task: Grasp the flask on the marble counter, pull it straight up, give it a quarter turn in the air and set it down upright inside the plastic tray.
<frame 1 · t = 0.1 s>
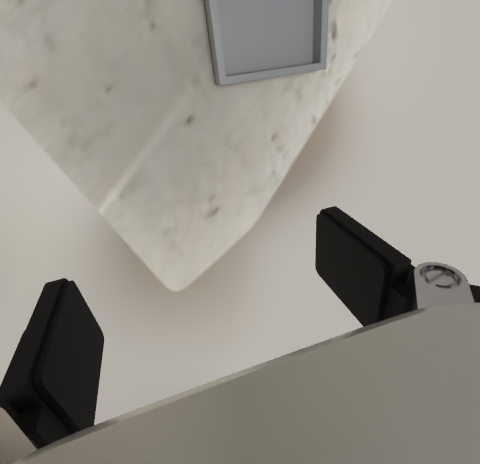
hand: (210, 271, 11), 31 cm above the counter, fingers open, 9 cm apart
tray: (263, 9, 34), on the counter
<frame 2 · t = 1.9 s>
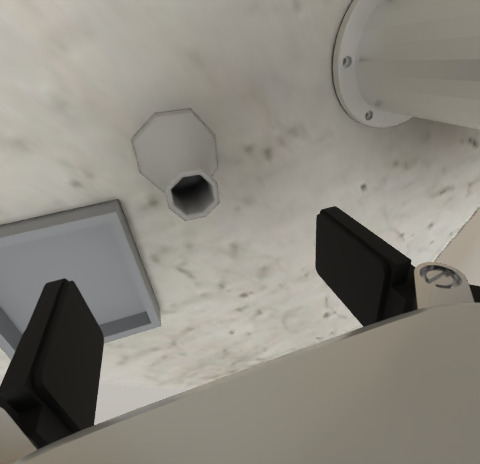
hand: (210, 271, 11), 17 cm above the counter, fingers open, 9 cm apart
flask: (176, 152, 26), on the counter
tray: (69, 279, 28), on the counter
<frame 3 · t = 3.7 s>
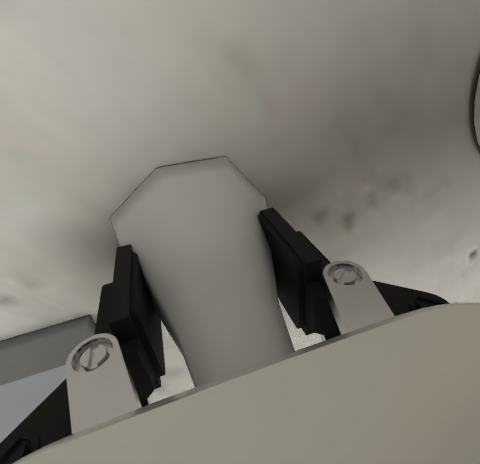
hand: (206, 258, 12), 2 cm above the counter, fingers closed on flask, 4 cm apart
flask: (196, 230, 14), on the counter, touching gripper
tray: (9, 437, 17), on the counter
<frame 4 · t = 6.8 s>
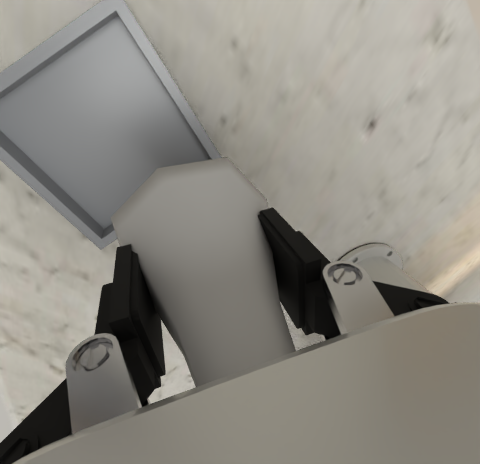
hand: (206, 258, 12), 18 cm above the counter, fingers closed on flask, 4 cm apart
flask: (196, 230, 14), point 16 cm above the counter, touching gripper
tray: (111, 136, 25), on the counter
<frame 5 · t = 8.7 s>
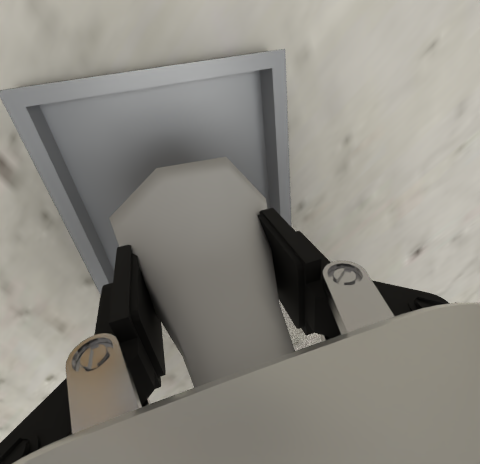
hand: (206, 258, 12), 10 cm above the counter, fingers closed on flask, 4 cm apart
flask: (196, 230, 14), point 7 cm above the counter, touching gripper
tray: (180, 183, 20), on the counter
when the fingers open (4 cm above the counter, at t = 10.1 s): flask drops 1 cm, resting on tray.
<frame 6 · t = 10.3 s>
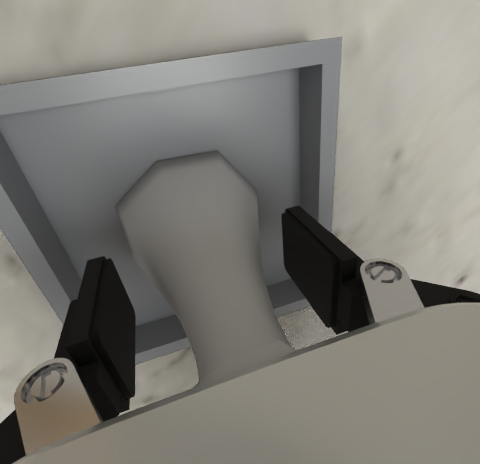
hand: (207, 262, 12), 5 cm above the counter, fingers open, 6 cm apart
flask: (193, 218, 15), resting on tray
tray: (189, 213, 16), on the counter
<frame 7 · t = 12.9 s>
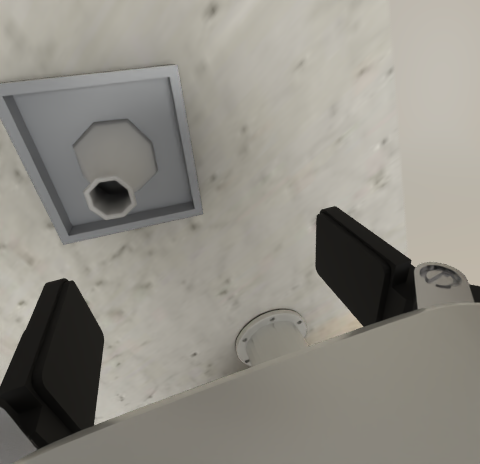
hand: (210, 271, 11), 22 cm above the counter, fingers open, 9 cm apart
flask: (118, 157, 28), resting on tray
tray: (116, 154, 28), on the counter
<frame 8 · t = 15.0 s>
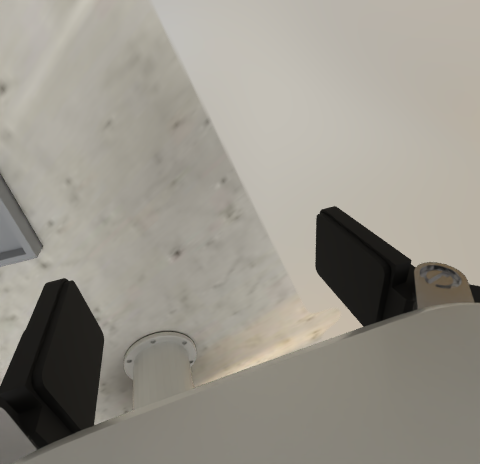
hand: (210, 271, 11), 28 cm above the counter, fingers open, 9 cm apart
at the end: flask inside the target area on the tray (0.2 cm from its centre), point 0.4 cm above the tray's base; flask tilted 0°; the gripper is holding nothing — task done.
